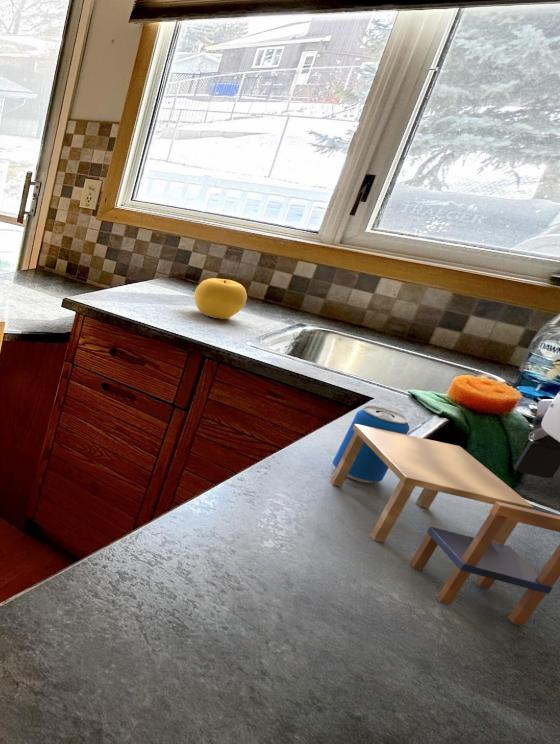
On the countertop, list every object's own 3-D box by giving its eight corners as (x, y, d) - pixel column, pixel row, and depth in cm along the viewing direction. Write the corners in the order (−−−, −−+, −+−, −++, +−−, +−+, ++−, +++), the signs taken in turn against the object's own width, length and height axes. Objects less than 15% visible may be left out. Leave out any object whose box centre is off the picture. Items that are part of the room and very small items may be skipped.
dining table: (426, 504, 99) (460, 446, 95) (491, 572, 84) (534, 507, 80) (326, 479, 103) (354, 423, 99) (371, 540, 89) (406, 477, 85)
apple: (179, 310, 189) (191, 275, 185) (203, 307, 195) (215, 272, 190) (224, 325, 178) (238, 288, 174) (247, 321, 184) (261, 285, 180)
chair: (485, 583, 81) (546, 490, 76) (525, 627, 75) (596, 528, 69) (408, 562, 84) (461, 471, 79) (439, 602, 77) (501, 505, 72)
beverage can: (379, 475, 106) (412, 415, 101) (380, 490, 101) (414, 428, 97) (331, 459, 110) (360, 400, 105) (329, 473, 105) (360, 412, 101)
